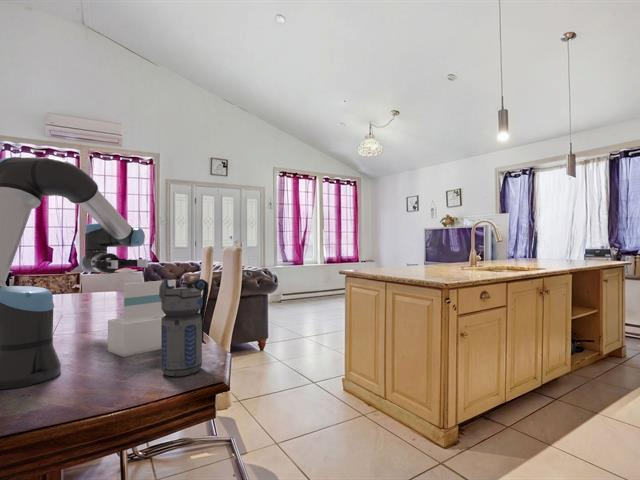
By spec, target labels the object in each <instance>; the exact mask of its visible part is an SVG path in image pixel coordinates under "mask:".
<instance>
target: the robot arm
mask: <svg viewBox="0 0 640 480" xmlns="http://www.w3.org/2000/svg"><path fill="white" fill-rule="evenodd" d="M45 196H46V197H48V196H49V197H52V196H54V197H55V196H57V197H63V198H65V199H67V200H68V201H69V202H71V203H73V204H76V205H78V206H79V207H80V208H81V209H82V210H83V211H85V212H86V213H87V214H88V215H89V216H90V217H91V218H92V219H93V220H94V221H96V222H97V223H87V224H86V226H85V234H84V237H85V238H84V244H85V247H84V248H85V251H84V256H83V257H82V259H81V266H82V268H83V269H84V270H86V271H87V272H88V271H89V272H91V273H101V274H102V275H104V274H112V273H114V272H117V271H118V270H119V269H121V268H122V269H124V268H127V267H137V268H148V267H149V260H148V259H146V258H144V259H143V258H142V257H139V258H138V259H137V258H136V259H131V258H130V259H129V258H128V259H127V258H121V257H119V256H118V255H117V254H115V253H110V252H108V248H135V247H141V246H143V245H144V243H145V239H146V238H145V237H146V235H145V231H144V229H143V228H140V227H132V225H130V223H128V221H127V220H126V219H125V218H124V217H123V216H122V214H120V213H119V211H118V210H117V209H116V208H115V207H114V206H113V205H112V203H110V202H109V200H108V199H107V197H105V196H104V195H103V194H102V193H101V191H100V190H99V185H98V184H97V182H96V181H95V180H94V179H93V178H92V177H91V176H90V175H89V174H87V172H85V171H84V170H83V169H81V168H79V167H78V166H77V165H75V164H73V163H71V162H69V161H66V160H65V159H62V158H58V157H54V156H45V157H43V156H42V157H41V156H40V157H39V156H38V157H35V156H34V157H22V156H21V157H20V156H12V157H3V158H0V390H10V389H16V388H23V387H28V386H29V387H30V386H33V385H36V384H40V383H43V382H47V381H49V380H51V379H53V378H56V377H58V376H59V375H60V374H61V373H62V369H61V368H62V365H61V364H62V363H61V360H60V359H59V356H58V353H57V351H56V348H55V346H54V308H55V305H54V304H55V303H54V295H53V293H52V291H51V290H49V288H46V287H45V288H44V287H40V286H30V285H29V286H27V285H26V286H25V285H10V286H7V284H6V281H7V279H8V276H9V274H10V271H11V267H12V265H13V262H14V259H15V256H16V254H17V252H18V249H19V246H20V243H21V241H22V237H23V234H24V232H25V229H26V226H27V224H28V220H29V218H30V215H31V213H32V210H33V209H36V208H38V207H40V205H41V203H42V200H43V198H44V197H45Z"/></svg>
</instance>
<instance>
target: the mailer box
mask: <svg viewBox="0 0 640 480" xmlns="http://www.w3.org/2000/svg"><path fill="white" fill-rule="evenodd" d="M163 316H165V315H159V316H152V317H146V318H139V319H133V320H126V321H123V317H121V318H112V319H108V320H107V352H109V353H112V354H115V355H116V356H119V357H122V358H126V357H127V358H128V357H132V356H136V355H141V354H145V353H149V352H153V351H157V350H161V318H162V317H163Z"/></svg>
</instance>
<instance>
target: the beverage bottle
mask: <svg viewBox="0 0 640 480" xmlns="http://www.w3.org/2000/svg"><path fill="white" fill-rule="evenodd" d="M168 280H169V279H168V278H164V279H162V280H161V281H162V283H161V285H160V287H159V297H160V298H161V309H162V311H163V312H164V313H165V316H163V317H162V318H161V349H160V350H161V351H160V352H161V355H160V356H161V357H160V358H161V359H160V360H161V361H160V362H161V372H162V373H163V374H164V375H165V376H168V377H169V376H170V377H184V376H190V375H192V374H195V373H197V372H198V371H200V369H201V368H202V366H203V344H204V345H207V343H206V341H205V340H204V335H205V334H204V328H205V327H204V326H205V324H204V323H205V315H206V309H207V303H208V298H209V282H208V281H206V280H205V279H204V278H199V279H198V278H197V279H192V281H184V282H183V281H182V282H181V283H180V284H181V285H186V286H187V287H185V286H184V287H176V288H175V286H168Z"/></svg>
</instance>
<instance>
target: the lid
mask: <svg viewBox="0 0 640 480" xmlns="http://www.w3.org/2000/svg"><path fill="white" fill-rule="evenodd" d="M162 281H163V280H155V281H154V280H153V281H142V282H140V281H139V282H127V283H123V295H122V296H123V305H122V306H123V308H122V309H123V313H122V315H123V317H122V318H123V321H126V320H133V319H139V318H146V317H152V316H159V315H165V313H164V312H163V311H162V309H161V298H160V297H159V287H160V285H161V283H162ZM176 281H177V280H176V279H168V286H175V288H177V283H176Z"/></svg>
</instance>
